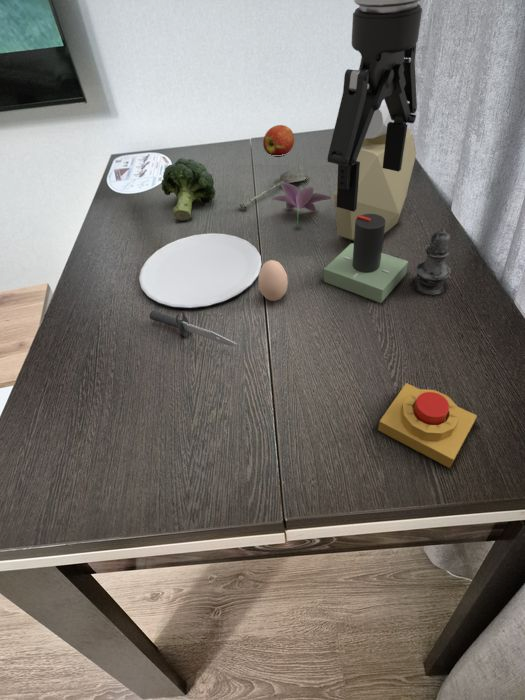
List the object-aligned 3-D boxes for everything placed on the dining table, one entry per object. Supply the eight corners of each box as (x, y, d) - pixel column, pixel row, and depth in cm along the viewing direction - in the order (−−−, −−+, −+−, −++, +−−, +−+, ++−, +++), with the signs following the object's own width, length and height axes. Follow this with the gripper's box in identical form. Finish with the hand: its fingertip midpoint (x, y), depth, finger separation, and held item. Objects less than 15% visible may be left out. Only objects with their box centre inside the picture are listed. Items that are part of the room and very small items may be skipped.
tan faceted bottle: (424, 214, 97) (453, 68, 77) (362, 266, 86) (376, 112, 66) (377, 199, 103) (392, 61, 83) (313, 246, 92) (312, 100, 72)
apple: (260, 157, 125) (257, 128, 119) (278, 147, 129) (276, 118, 124) (282, 163, 121) (280, 133, 116) (300, 152, 125) (299, 122, 120)
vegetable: (146, 214, 104) (160, 161, 108) (192, 237, 111) (203, 188, 115) (170, 193, 94) (184, 137, 98) (218, 221, 102) (230, 167, 106)
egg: (254, 300, 81) (249, 263, 76) (273, 286, 84) (269, 249, 78) (276, 311, 79) (272, 274, 73) (294, 296, 81) (292, 259, 75)
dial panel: (406, 274, 83) (408, 260, 81) (381, 303, 78) (382, 289, 76) (350, 255, 89) (351, 242, 86) (323, 281, 84) (323, 268, 81)
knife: (244, 350, 72) (239, 327, 68) (236, 359, 70) (230, 337, 67) (160, 320, 81) (152, 298, 77) (151, 327, 79) (142, 306, 76)
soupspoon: (313, 182, 113) (294, 177, 117) (313, 169, 111) (294, 164, 115) (250, 214, 103) (232, 207, 107) (248, 200, 101) (230, 193, 105)
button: (451, 408, 57) (454, 400, 56) (438, 430, 55) (441, 422, 54) (421, 395, 59) (424, 387, 58) (408, 415, 57) (410, 407, 56)
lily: (337, 225, 99) (336, 180, 96) (305, 228, 91) (304, 178, 88) (295, 227, 107) (293, 185, 104) (262, 230, 98) (260, 184, 96)
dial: (384, 262, 81) (390, 216, 74) (371, 276, 79) (376, 230, 72) (360, 254, 83) (364, 209, 77) (347, 267, 81) (350, 222, 74)
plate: (285, 254, 91) (285, 249, 90) (211, 328, 77) (210, 323, 76) (193, 227, 102) (192, 222, 101) (114, 287, 88) (112, 282, 87)
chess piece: (450, 294, 78) (467, 235, 69) (417, 297, 78) (429, 238, 70) (441, 274, 82) (455, 216, 73) (409, 277, 82) (420, 219, 74)
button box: (473, 424, 59) (481, 407, 56) (449, 468, 55) (457, 452, 52) (403, 392, 64) (408, 374, 61) (377, 430, 60) (380, 413, 57)
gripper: (405, -16, 57) (386, 150, 72) (295, 29, 44) (300, 219, 59) (463, -16, 53) (430, 159, 68) (362, 33, 40) (349, 234, 56)
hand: (370, 187), depth 64 cm, fingers open, 13 cm apart
